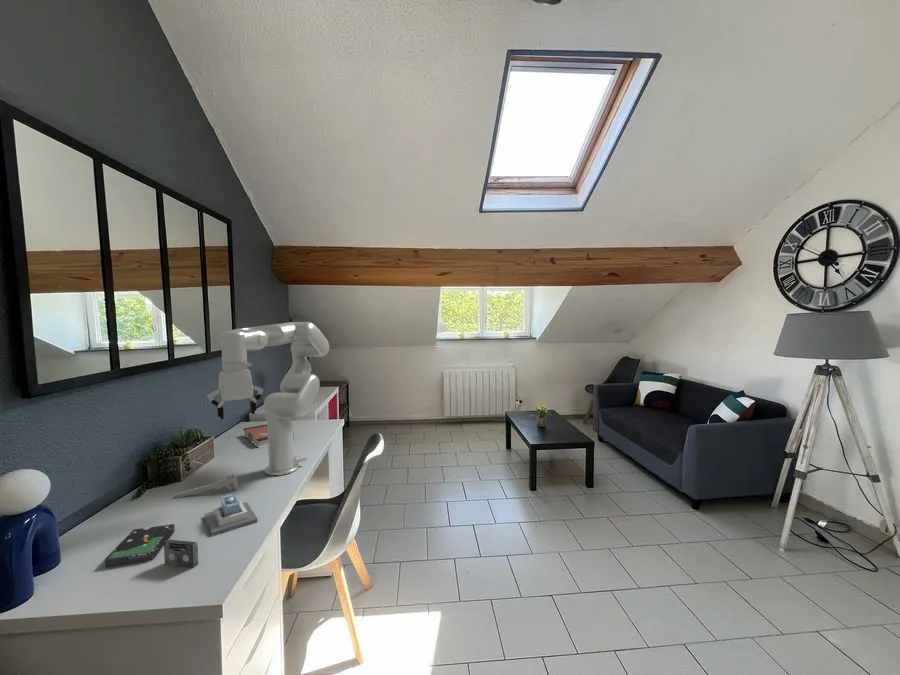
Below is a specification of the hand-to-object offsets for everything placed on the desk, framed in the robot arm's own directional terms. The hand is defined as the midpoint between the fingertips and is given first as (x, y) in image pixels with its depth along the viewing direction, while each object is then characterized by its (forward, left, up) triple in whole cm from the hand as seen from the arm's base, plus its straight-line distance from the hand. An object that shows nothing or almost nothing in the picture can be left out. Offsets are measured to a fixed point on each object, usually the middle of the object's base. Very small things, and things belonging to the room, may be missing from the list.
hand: (237, 415), depth 136 cm
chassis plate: (+6, +17, -28) cm, 33 cm away
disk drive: (+27, +18, -29) cm, 44 cm away
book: (-25, -63, -29) cm, 74 cm away
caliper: (+9, -9, -29) cm, 31 cm away
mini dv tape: (+20, +34, -28) cm, 48 cm away
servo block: (+6, +17, -27) cm, 32 cm away
